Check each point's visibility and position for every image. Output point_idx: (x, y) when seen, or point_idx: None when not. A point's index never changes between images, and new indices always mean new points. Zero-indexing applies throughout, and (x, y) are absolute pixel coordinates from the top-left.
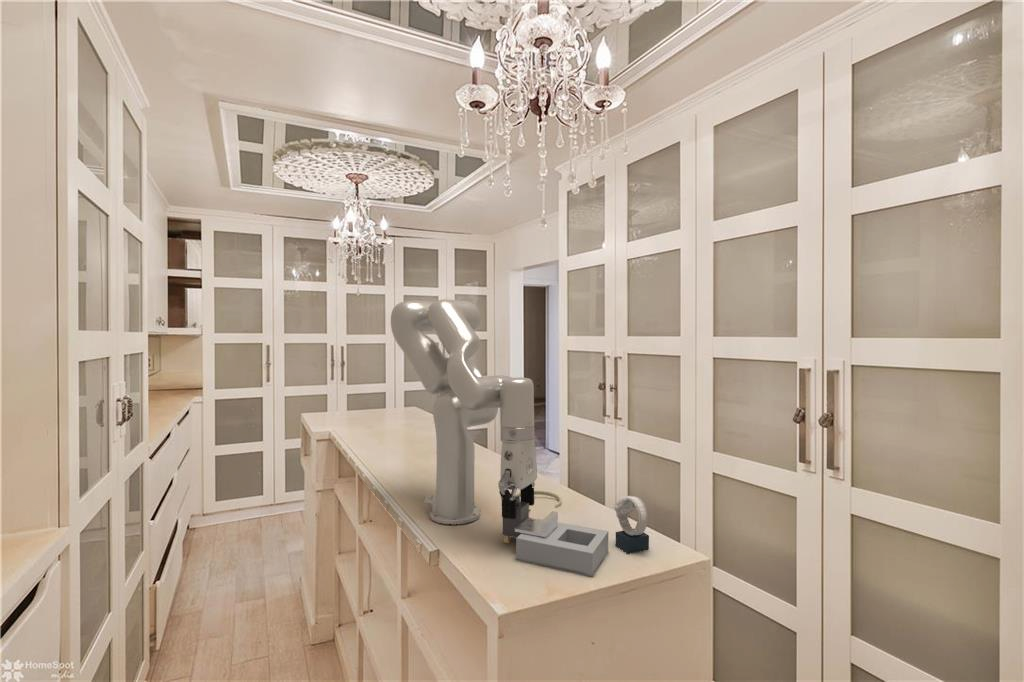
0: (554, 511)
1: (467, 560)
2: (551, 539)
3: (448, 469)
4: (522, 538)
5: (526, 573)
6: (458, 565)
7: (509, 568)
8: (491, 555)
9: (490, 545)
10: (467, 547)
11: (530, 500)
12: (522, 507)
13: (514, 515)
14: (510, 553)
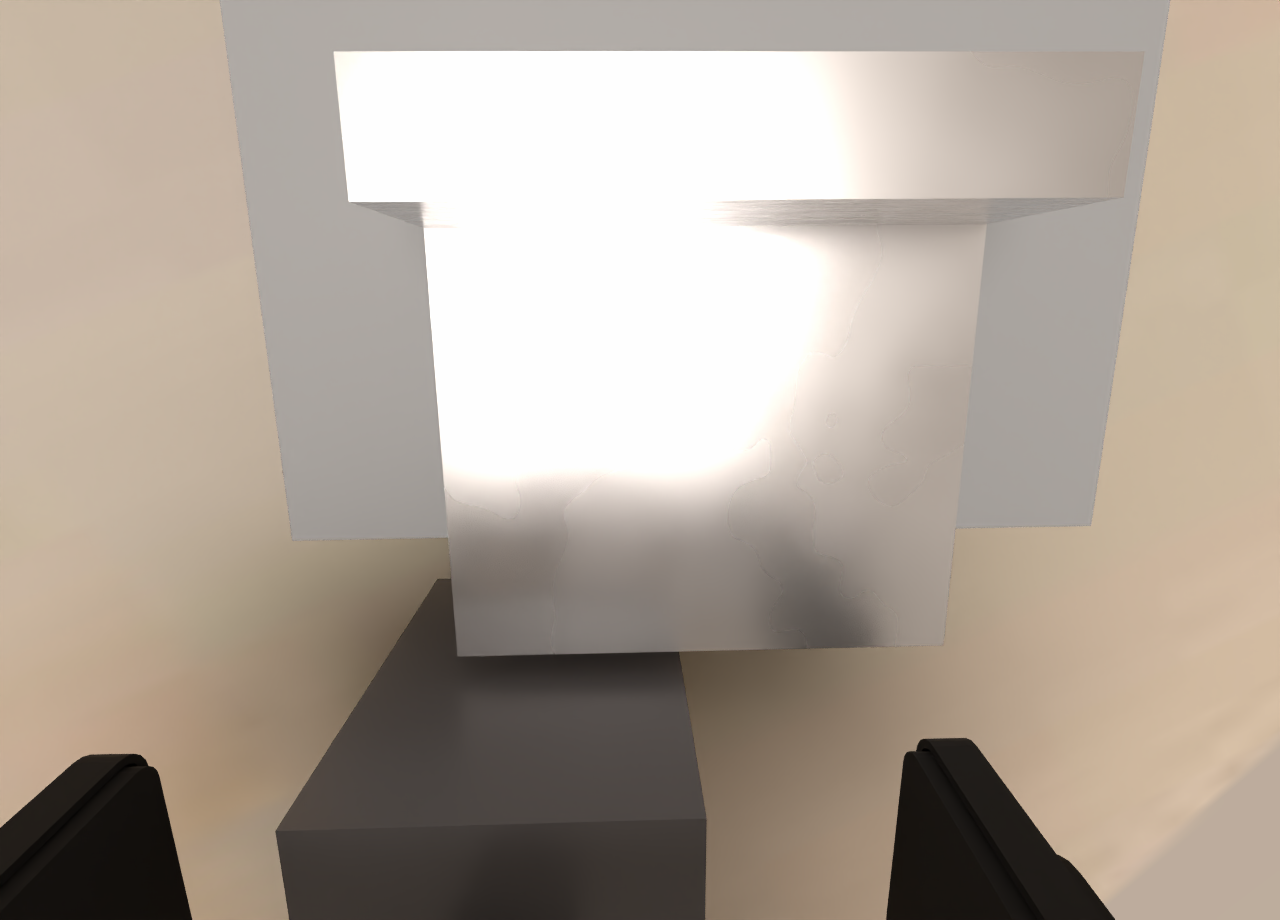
0: (345, 148)
1: (1094, 799)
2: (965, 36)
3: None
4: (1077, 447)
5: (1174, 255)
6: (1197, 813)
7: (1126, 439)
8: (939, 684)
9: (755, 779)
10: (871, 910)
11: (92, 865)
12: (612, 828)
13: (993, 788)
14: None
